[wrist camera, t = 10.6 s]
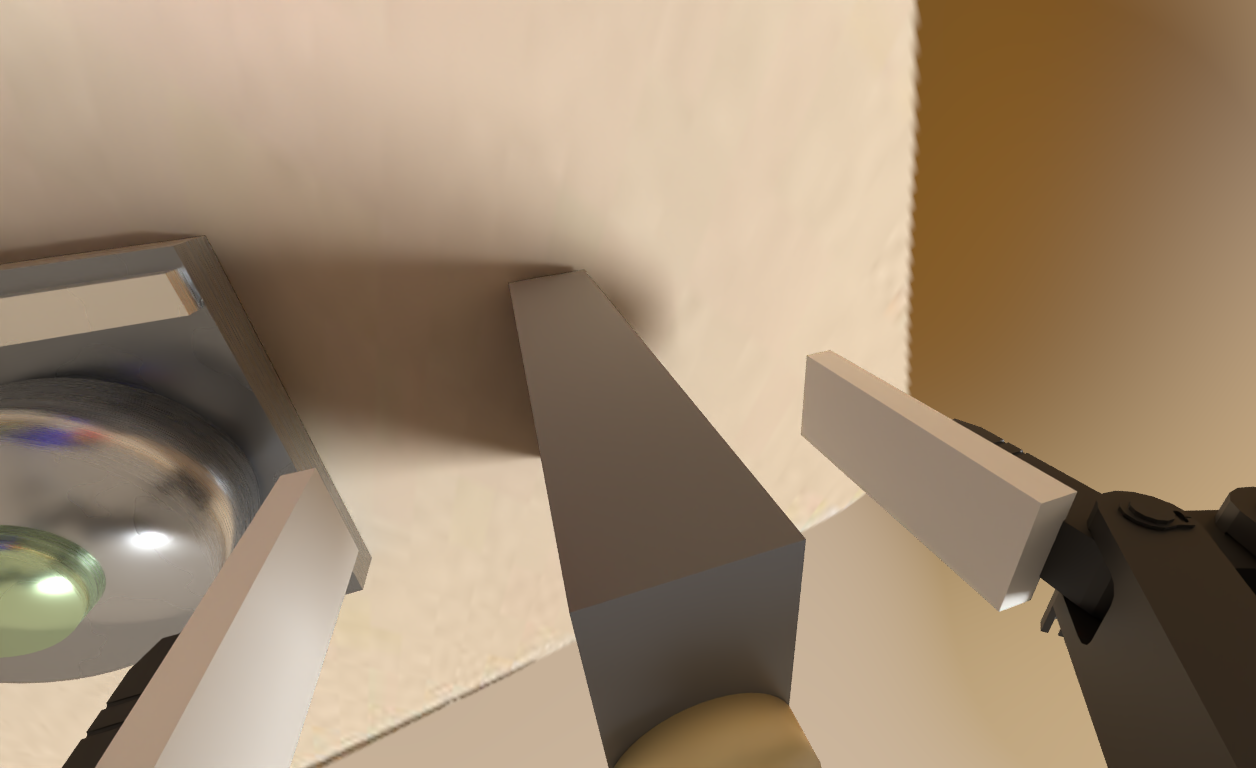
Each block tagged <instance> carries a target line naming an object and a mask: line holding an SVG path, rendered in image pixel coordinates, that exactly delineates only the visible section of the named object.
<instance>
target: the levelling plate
mask: <svg viewBox="0 0 1256 768" xmlns="http://www.w3.org/2000/svg"><path fill="white" fill-rule="evenodd" d="M312 468H316V469H317V471H318V473H319V475H320V477H321V479H322V481H323V483H324V485H325V487H326V489H327V490H328V492H329V494H330V496H331V498H332V500H333V502H334V504H335V506H336V508H337V510H338V512H339V514H340V515H341V517H342V519H343V521H344V523H345V525H346V527H347V529H348V531H349V533H350V535H351V537H352V539H353V540H354V542H355V544H356V546H357V548H358V550H359V552H358V555H357V558H356V561H355V565H354V568H353V571H352V574H351V577H350V580H349V583H348V586H347V590H346V593H345V595H346V594H349V593H353V592H356V591H360V590H363V587H364V584H365V580H366V576H367V573H368V569H369V565H370V562H371V556H370V554H369V552H368V550H367V548H366V546H365V544H364V542H363V540H362V538H361V536H360V535H359V533H358V531H357V529H356V527H355V525H354V523H353V521H352V519H351V517H350V515H349V513H348V511H347V509H346V507H345V505H344V503H343V502H342V500H341V498H340V496H339V494H338V492H337V490H336V488H335V486H334V484H333V482H332V480H331V478H330V476H329V474H328V472H327V471H326V469H325V467H324V465H323V463H322V461H321V459H320V457H319V455H318V453H317V451H316V449H315V447H314V445H313V443H312V441H311V439H310V438H309V436H308V434H307V432H306V430H305V428H304V426H303V424H302V422H301V420H300V418H299V416H298V414H297V412H296V410H295V408H294V407H293V405H292V403H291V401H290V399H289V397H288V395H287V393H286V391H285V389H284V387H283V385H282V383H281V381H280V379H279V377H278V375H277V374H276V372H275V370H274V368H273V366H272V364H271V362H270V360H269V358H268V356H267V354H266V352H265V350H264V348H263V346H262V344H261V343H260V341H259V339H258V337H257V335H256V333H255V331H254V329H253V327H252V325H251V323H250V321H249V319H248V317H247V315H246V313H245V311H244V310H243V308H242V306H241V304H240V302H239V300H238V298H237V296H236V294H235V292H234V290H233V288H232V286H231V284H230V282H229V280H228V279H227V277H226V275H225V273H224V271H223V269H222V267H221V265H220V263H219V261H218V259H217V257H216V255H215V253H214V251H213V249H212V248H211V246H210V244H209V242H208V240H207V238H206V236H199V237H192V238H185V239H178V240H170V241H163V242H156V243H149V244H142V245H135V246H127V247H120V248H113V249H106V250H99V251H92V252H84V253H77V254H70V255H63V256H56V257H49V258H41V259H34V260H27V261H20V262H13V263H5V264H0V683H43V682H55V681H65V680H73V679H79V678H85V677H91V676H96V675H100V674H104V673H108V672H112V671H116V670H119V669H122V668H125V667H128V666H131V665H134V664H136V663H137V662H138V661H139V660H140V659H141V658H142V657H143V656H144V655H145V654H146V653H147V652H148V651H149V650H150V649H151V648H152V647H154V646H155V645H156V644H157V643H158V642H159V641H160V640H161V639H162V638H165V637H168V636H172V635H176V634H179V633H181V631H182V630H183V628H184V627H185V625H186V624H187V622H188V620H189V619H190V617H191V616H192V614H193V613H194V611H195V609H196V608H197V606H198V605H199V603H200V602H201V600H202V598H203V597H204V595H205V594H206V592H207V591H208V589H209V587H210V586H211V584H212V583H213V581H214V580H215V578H216V576H217V575H218V573H219V572H220V570H221V569H222V567H223V565H224V564H225V562H226V561H227V559H228V558H229V556H230V554H231V553H232V551H233V550H234V548H235V546H236V545H237V543H238V542H239V540H240V539H241V537H242V535H243V534H244V532H245V531H246V529H247V528H248V526H249V524H250V523H251V521H252V520H253V518H254V517H255V515H256V513H257V512H258V510H259V509H260V507H261V506H262V504H263V502H264V501H265V499H266V498H267V496H268V495H269V493H270V491H271V490H272V488H273V487H274V485H275V484H276V482H277V480H278V479H279V477H280V476H282V475H286V474H291V473H295V472H299V471H304V470H308V469H312Z"/></svg>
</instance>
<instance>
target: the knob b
mask: <svg viewBox="0 0 1256 768" xmlns="http://www.w3.org/2000/svg"><path fill="white" fill-rule="evenodd" d="M509 288H510V294H511V299H512V305H513V310H514V315H515V321H516V326H517V332H518V337H519V342H520V348H521V353H522V359H523V364H524V370H525V375H526V380H527V386H528V391H529V397H530V402H531V407H532V413H533V418H534V424H535V429H536V434H537V440H538V445H539V451H540V456H541V461H542V467H543V472H544V478H545V483H546V488H547V494H548V499H549V505H550V510H551V516H552V521H553V526H554V532H555V537H556V543H557V548H558V553H559V559H560V564H561V570H562V575H563V580H564V586H565V591H566V597H567V602H568V607H569V613H570V617H571V621H572V625H573V629H574V633H575V637H576V640H577V644H578V648H579V652H580V656H581V660H582V664H583V668H584V672H585V676H586V680H587V684H588V688H589V692H590V696H591V700H592V703H593V708H594V712H595V715H596V719H597V723H598V727H599V731H600V735H601V739H602V743H603V747H604V751H605V755H606V759H607V763H608V767H609V768H821V764H820V761H819V759H818V758H817V756H816V754H815V752H814V750H813V749H812V747H811V745H810V743H809V741H808V740H807V738H806V736H805V734H804V732H803V730H802V728H801V727H800V725H799V723H798V721H797V719H796V718H795V716H794V714H793V712H792V710H791V709H790V707H789V699H790V691H791V681H792V671H793V660H794V651H795V641H796V630H797V621H798V612H799V602H800V592H801V581H802V572H803V562H804V551H805V542H806V539H805V538H804V537H803V535H802V534H801V533H800V532H799V530H798V529H797V528H796V527H795V526H794V524H793V523H792V522H791V521H790V519H789V518H788V517H787V516H786V515H785V513H784V512H783V511H782V510H781V508H780V507H779V506H778V505H777V504H776V502H775V501H774V500H773V499H772V498H771V496H770V495H769V494H768V493H767V491H766V490H765V489H764V488H763V487H762V485H761V484H760V483H759V482H758V481H757V479H756V478H755V477H754V476H753V474H752V473H751V472H750V471H749V470H748V468H747V467H746V466H745V465H744V463H743V462H742V461H741V460H740V459H739V457H738V456H737V455H736V454H735V453H734V451H733V450H732V449H731V448H730V446H729V445H728V444H727V443H726V442H725V440H724V439H723V438H722V437H721V436H720V434H719V433H718V432H717V431H716V429H715V428H714V427H713V426H712V425H711V423H710V422H709V421H708V420H707V418H706V417H705V416H704V415H703V414H702V412H701V411H700V410H699V409H698V408H697V406H696V405H695V404H694V403H693V401H692V400H691V399H690V398H689V397H688V395H687V394H686V393H685V392H684V391H683V389H682V388H681V387H680V386H679V384H678V383H677V382H676V381H675V380H674V378H673V377H672V376H671V375H670V373H669V372H668V371H667V370H666V369H665V367H664V366H663V365H662V364H661V363H660V361H659V360H658V359H657V358H656V356H655V355H654V354H653V353H652V352H651V350H650V349H649V348H648V347H647V346H646V344H645V343H644V342H643V341H642V339H641V338H640V337H639V336H638V335H637V333H636V332H635V331H634V330H633V328H632V327H631V326H630V325H629V324H628V322H627V321H626V320H625V319H624V318H623V316H622V315H621V314H620V313H619V311H618V310H617V309H616V308H615V307H614V305H613V304H612V303H611V302H610V301H609V299H608V298H607V297H606V296H605V294H604V293H603V292H602V291H601V290H600V288H599V287H598V286H597V285H596V283H595V282H594V281H593V280H592V279H591V277H590V276H589V275H588V274H587V273H586V271H585V270H579V271H574V272H568V273H562V274H557V275H551V276H545V277H539V278H534V279H528V280H522V281H516V282H511V283H509Z"/></svg>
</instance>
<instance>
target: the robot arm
mask: <svg viewBox="0 0 1256 768" xmlns="http://www.w3.org/2000/svg"><path fill="white" fill-rule="evenodd" d="M801 435H802V436H803V437H804V438H805V439H806V440H807V441H809V442H810V443H811V444H812V445H813V446H814V447H815V448H816V449H818V450H819V451H820V452H821V453H822V454H823V455H824V456H825V457H827V458H828V459H829V460H830V461H831V462H832V463H833V464H834V465H835V466H837V467H838V468H839V469H840V470H841V471H842V472H843V473H844V474H846V475H847V476H848V477H849V478H850V479H851V480H852V481H853V482H854V483H856V484H857V485H858V486H859V487H860V488H861V489H862V490H863V491H865V492H866V493H867V494H868V495H869V496H870V497H871V498H873V499H874V500H875V501H876V502H877V503H878V504H879V505H880V506H881V507H883V508H884V509H885V510H886V511H887V512H888V513H889V514H890V515H891V516H893V517H894V518H895V519H896V520H897V521H898V522H899V523H900V524H902V525H903V526H904V527H905V528H906V529H907V530H908V531H910V532H911V533H912V534H913V535H914V536H915V537H916V538H917V539H918V540H919V541H921V542H922V543H923V544H924V545H925V546H926V547H927V548H928V549H929V550H931V551H932V552H933V553H934V554H935V555H936V556H937V557H938V558H940V559H941V560H942V561H943V562H944V563H945V564H946V565H947V566H949V567H950V568H951V569H952V570H953V571H954V572H955V573H956V574H957V575H959V576H960V577H961V578H962V579H963V580H964V581H965V582H967V584H969V585H970V586H971V587H972V588H973V589H974V590H975V591H977V592H978V593H979V594H980V595H981V596H982V597H983V598H984V599H985V600H987V601H988V602H989V603H990V604H991V605H992V606H993V607H994V608H996V609H997V610H998V611H1002V610H1005V609H1007V608H1010V607H1013V606H1016V605H1018V604H1021V603H1024V602H1026V601H1029V600H1031V598H1032V596H1033V593H1034V591H1035V589H1036V586H1037V584H1038V582H1039V579H1040V578H1042V579H1043V580H1044V581H1046V582H1047V583H1048V584H1050V585H1051V586H1052V587H1054V588H1055V591H1054V594H1053V596H1052V598H1051V600H1050V602H1049V604H1048V607H1047V609H1046V611H1045V613H1044V615H1043V618H1042V620H1041V631H1043V632H1047V633H1048V632H1049V630H1050V628H1051V625H1052V623H1053V621H1054V619H1058V622H1059V625H1060V628H1061V629H1060V631H1059V633H1058V635H1059V636H1062V637H1064V640H1065V643H1066V646H1067V649H1068V652H1069V655H1070V658H1071V660H1072V663H1073V666H1074V669H1075V672H1076V675H1077V678H1078V681H1079V684H1080V687H1081V690H1082V693H1083V696H1084V699H1085V702H1086V705H1087V708H1088V711H1089V713H1090V716H1091V719H1092V722H1093V725H1094V728H1095V731H1096V734H1097V737H1098V740H1099V743H1100V746H1101V749H1102V752H1103V755H1104V757H1105V760H1106V763H1107V766H1108V768H1256V487H1244V488H1237V489H1235V490H1233V491H1232V492H1230V493H1229V495H1228V496H1227V498H1226V499H1225V501H1224V503H1223V504H1222V506H1221V507H1220V509H1219V510H1205V511H1204V510H1202V511H1184V510H1182V509H1180V508H1178V507H1176V506H1175V505H1173V504H1171V503H1168V502H1165V501H1163V500H1160V499H1158V498H1155V497H1152V496H1148V495H1143V494H1139V493H1135V492H1126V491H1113V492H1108V493H1103V494H1101V493H1099V492H1097V491H1095V490H1093V489H1091V488H1090V487H1088V486H1086V485H1084V484H1082V483H1081V482H1079V481H1077V480H1075V479H1074V478H1072V477H1070V476H1068V475H1066V474H1065V473H1063V472H1061V471H1059V470H1057V469H1056V468H1054V467H1052V466H1050V465H1048V464H1046V463H1045V462H1043V461H1041V460H1039V459H1037V458H1036V457H1034V456H1032V455H1030V454H1028V453H1026V454H1024V453H1023V450H1021V449H1019V448H1017V447H1016V446H1014V445H1012V444H1010V443H1005V442H1004V440H1003V439H1001V438H1000V437H997V436H996V435H994V434H992V433H991V432H988V431H987V430H985V429H983V428H981V427H978V426H975V425H972V424H969V423H966V422H963V421H960V420H957V419H953V420H951V419H950V418H948V417H946V416H944V415H943V414H941V413H939V412H937V411H935V410H934V409H932V408H930V407H929V406H927V405H925V404H923V403H922V402H920V401H918V400H916V399H915V398H913V397H911V396H909V395H908V394H906V393H904V392H903V391H901V390H899V389H897V388H896V387H894V386H892V385H890V384H889V383H887V382H885V381H883V380H882V379H880V378H878V377H876V376H875V375H873V374H871V373H869V372H868V371H866V370H864V369H862V368H861V367H859V366H857V365H855V364H854V363H852V362H850V361H848V360H847V359H845V358H843V357H841V356H840V355H838V354H836V353H834V352H833V351H831V350H828V351H824V352H820V353H815V354H811V355H807V360H806V373H805V387H804V400H803V413H802V427H801ZM358 552H359V550H358V548H357V546H356V544H355V542H354V540H353V539H352V537H351V535H350V533H349V531H348V529H347V527H346V525H345V523H344V521H343V519H342V517H341V515H340V514H339V512H338V510H337V508H336V506H335V504H334V502H333V500H332V498H331V496H330V494H329V492H328V490H327V489H326V487H325V485H324V483H323V481H322V479H321V477H320V475H319V473H318V471H317V469H316V468H312V469H308V470H304V471H299V472H295V473H291V474H286V475H282V476H280V477H279V479H278V480H277V482H276V484H275V485H274V487H273V488H272V490H271V491H270V493H269V495H268V496H267V498H266V499H265V501H264V502H263V504H262V506H261V507H260V509H259V510H258V512H257V513H256V515H255V517H254V518H253V520H252V521H251V523H250V524H249V526H248V528H247V529H246V531H245V532H244V534H243V535H242V537H241V539H240V540H239V542H238V543H237V545H236V546H235V548H234V550H233V551H232V553H231V554H230V556H229V558H228V559H227V561H226V562H225V564H224V565H223V567H222V569H221V570H220V572H219V573H218V575H217V576H216V578H215V580H214V581H213V583H212V584H211V586H210V587H209V589H208V591H207V592H206V594H205V595H204V597H203V598H202V600H201V602H200V603H199V605H198V606H197V608H196V609H195V611H194V613H193V614H192V616H191V617H190V619H189V620H188V622H187V624H186V625H185V627H184V628H183V630H182V631H181V633H179V634H176V635H172V636H168V637H165V638H162V639H161V640H160V641H159V642H158V643H157V644H156V645H155V646H154V647H152V648H151V649H150V650H149V651H148V652H147V653H146V654H145V655H144V656H143V657H142V658H141V659H140V660H139V661H138V662H137V663H136V664H135V665H134V666H133V667H132V668H131V669H130V670H129V671H128V673H127V674H126V675H125V677H124V678H123V680H122V681H121V683H120V684H119V686H118V687H117V689H116V690H115V691H114V693H113V694H112V696H111V697H110V699H109V700H108V702H107V703H106V704H107V708H106V709H104V710H101V712H100V713H99V715H98V716H97V718H96V719H95V720H94V722H93V723H92V725H91V726H90V728H89V729H88V731H87V737H86V738H85V739H82V740H81V741H80V742H79V744H78V745H77V747H76V748H75V749H74V751H73V752H72V754H71V755H70V757H69V758H68V760H67V761H66V763H65V764H64V765H63V767H62V768H290V765H291V762H292V759H293V756H294V753H295V750H296V747H297V743H298V740H299V737H300V734H301V731H302V728H303V725H304V721H305V718H306V715H307V712H308V709H309V706H310V703H311V699H312V696H313V693H314V690H315V687H316V684H317V681H318V678H319V674H320V671H321V668H322V665H323V662H324V659H325V656H326V652H327V649H328V646H329V643H330V640H331V637H332V634H333V630H334V627H335V624H336V621H337V618H338V615H339V612H340V608H341V605H342V602H343V599H344V596H345V593H346V590H347V586H348V583H349V580H350V577H351V574H352V571H353V568H354V565H355V561H356V558H357V555H358Z"/></svg>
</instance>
